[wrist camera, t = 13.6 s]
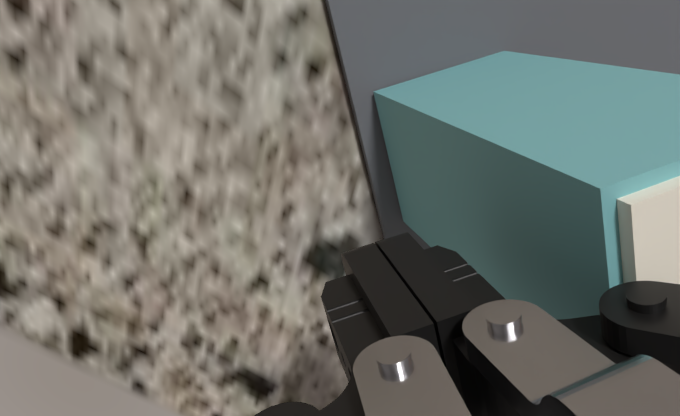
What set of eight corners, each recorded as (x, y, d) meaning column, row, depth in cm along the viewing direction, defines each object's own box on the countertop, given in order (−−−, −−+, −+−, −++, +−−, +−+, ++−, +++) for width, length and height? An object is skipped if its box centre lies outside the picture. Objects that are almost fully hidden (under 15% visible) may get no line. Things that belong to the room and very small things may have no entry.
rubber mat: (403, 315, 22) (406, 321, 22) (319, -26, 18) (321, -27, 17) (819, 168, 24) (829, 171, 24) (838, -168, 20) (850, -171, 19)
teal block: (403, 221, 20) (634, 438, 10) (373, 91, 18) (614, 195, 8) (522, 179, 21) (852, 343, 11) (504, 50, 19) (873, 100, 9)
